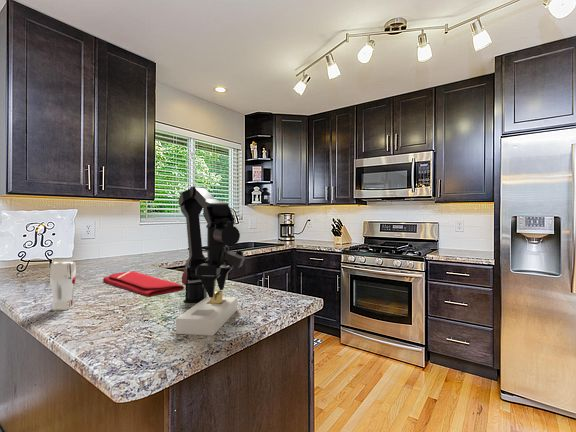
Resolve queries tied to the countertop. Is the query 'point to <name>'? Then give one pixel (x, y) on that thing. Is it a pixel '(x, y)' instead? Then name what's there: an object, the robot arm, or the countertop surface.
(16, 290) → the countertop surface
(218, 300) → the cylinder
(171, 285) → the dish drying mat
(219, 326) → the block
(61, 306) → the white carton
